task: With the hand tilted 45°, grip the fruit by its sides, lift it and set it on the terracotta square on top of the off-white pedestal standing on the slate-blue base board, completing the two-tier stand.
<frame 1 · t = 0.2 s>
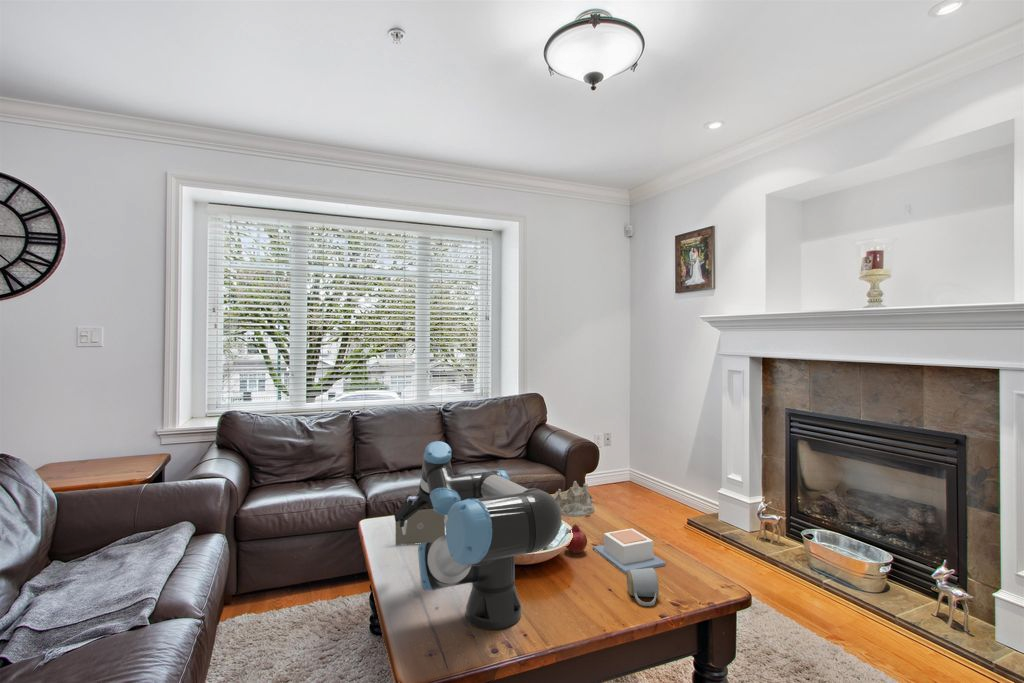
hand: (425, 527, 160), 15 cm above the table, tool tilted 35°, fingers open, 13 cm apart
pedestal board: (627, 557, 173), on the table
laptop: (421, 538, 190), on the table
ceramic mug: (644, 598, 146), on the table
miniature stone castle: (573, 511, 219), on the table
fruit: (575, 553, 176), on the table
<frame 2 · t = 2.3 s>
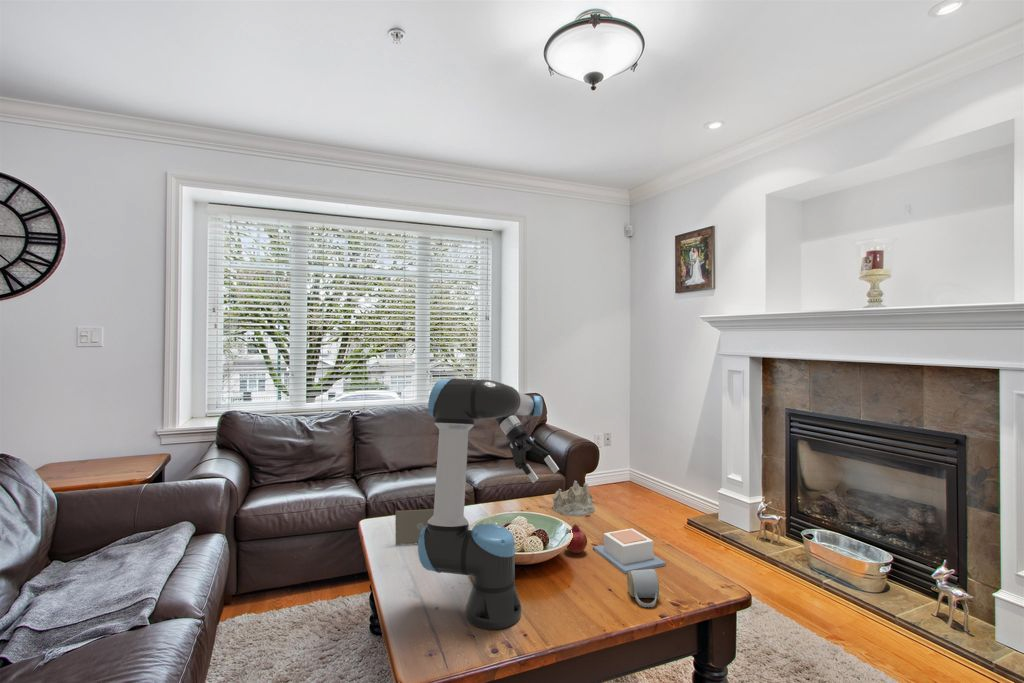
hand: (546, 476, 182), 25 cm above the table, tool tilted 45°, fingers open, 13 cm apart
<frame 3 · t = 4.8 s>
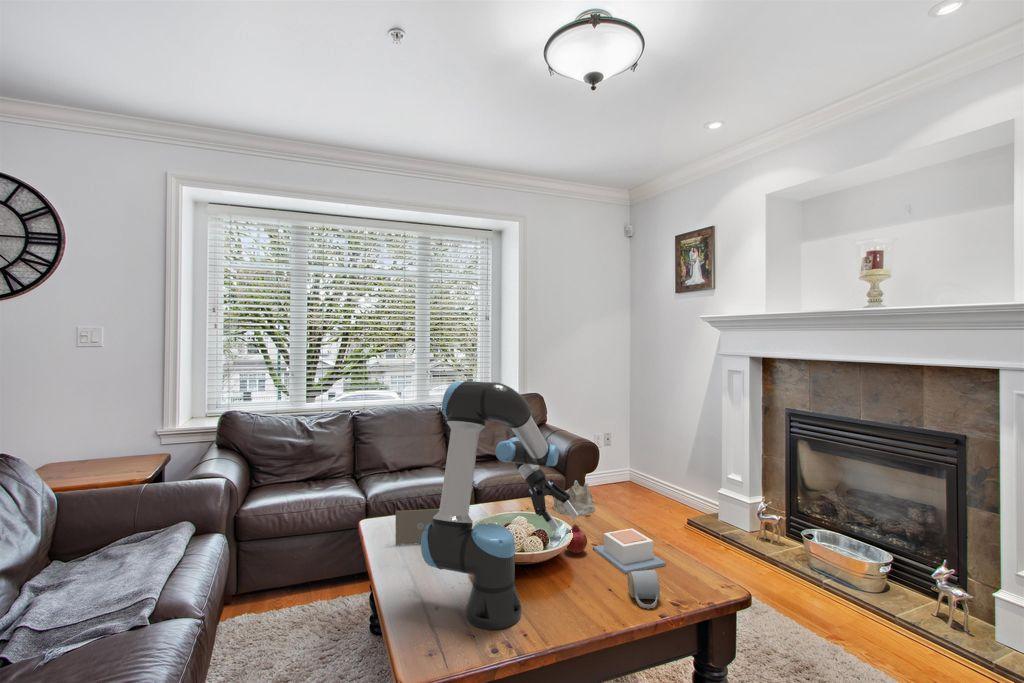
hand: (566, 522, 180), 9 cm above the table, tool tilted 45°, fingers open, 13 cm apart
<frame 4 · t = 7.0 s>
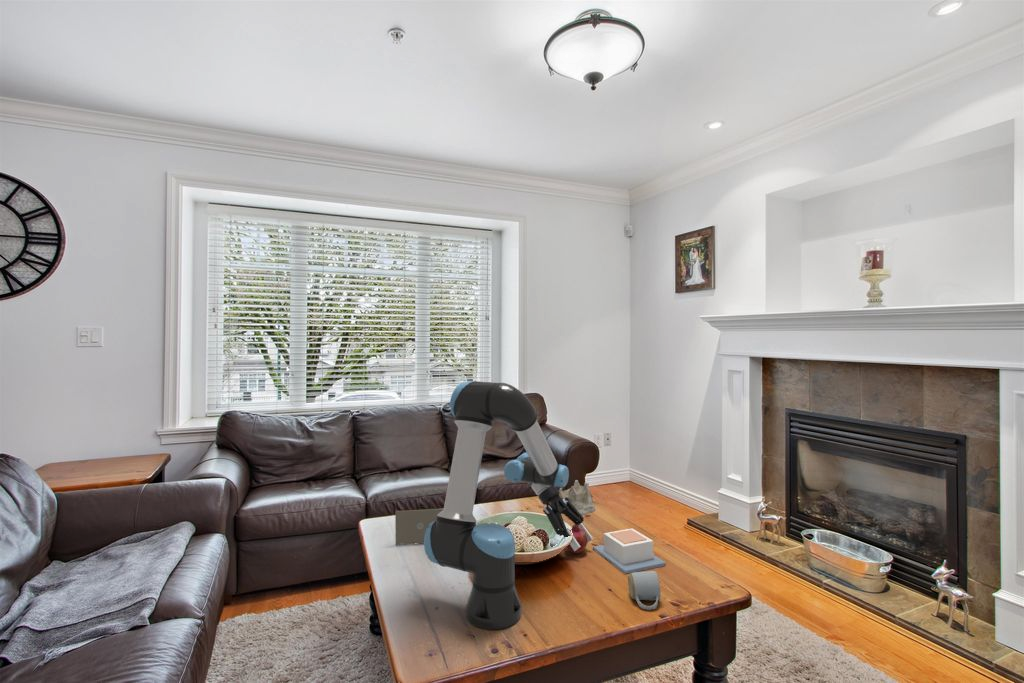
hand: (583, 544, 174), 4 cm above the table, tool tilted 45°, fingers closed on fruit, 8 cm apart
fruit: (575, 553, 176), on the table, touching gripper
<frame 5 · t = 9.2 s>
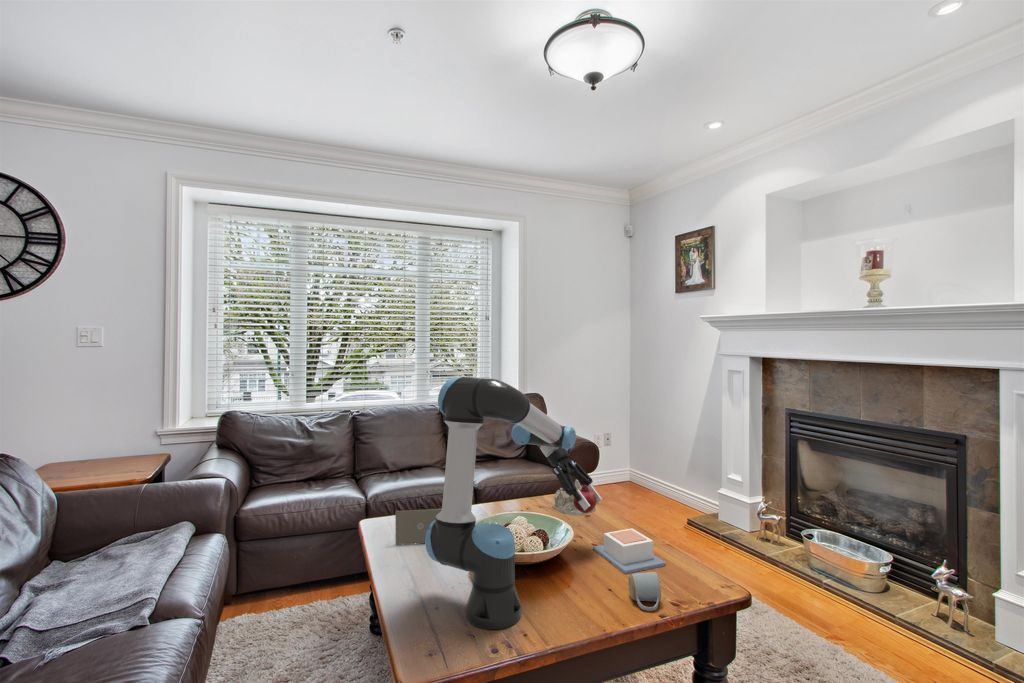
hand: (593, 504, 175), 18 cm above the table, tool tilted 45°, fingers closed on fruit, 8 cm apart
fruit: (584, 513, 177), point 14 cm above the table, touching gripper
when the fingers open (13 cm above the table, at t = 11.6 s): fruit drops 2 cm, resting on pedestal board.
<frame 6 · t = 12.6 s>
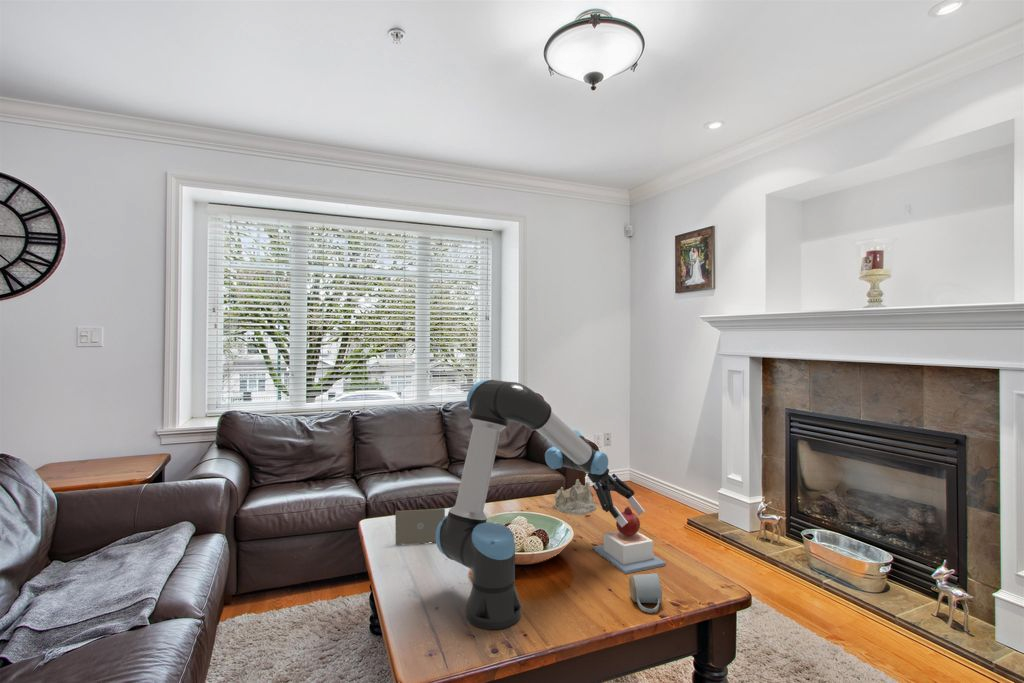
hand: (633, 519, 171), 14 cm above the table, tool tilted 45°, fingers open, 13 cm apart
fruit: (627, 536, 173), point 7 cm above the table, touching pedestal board
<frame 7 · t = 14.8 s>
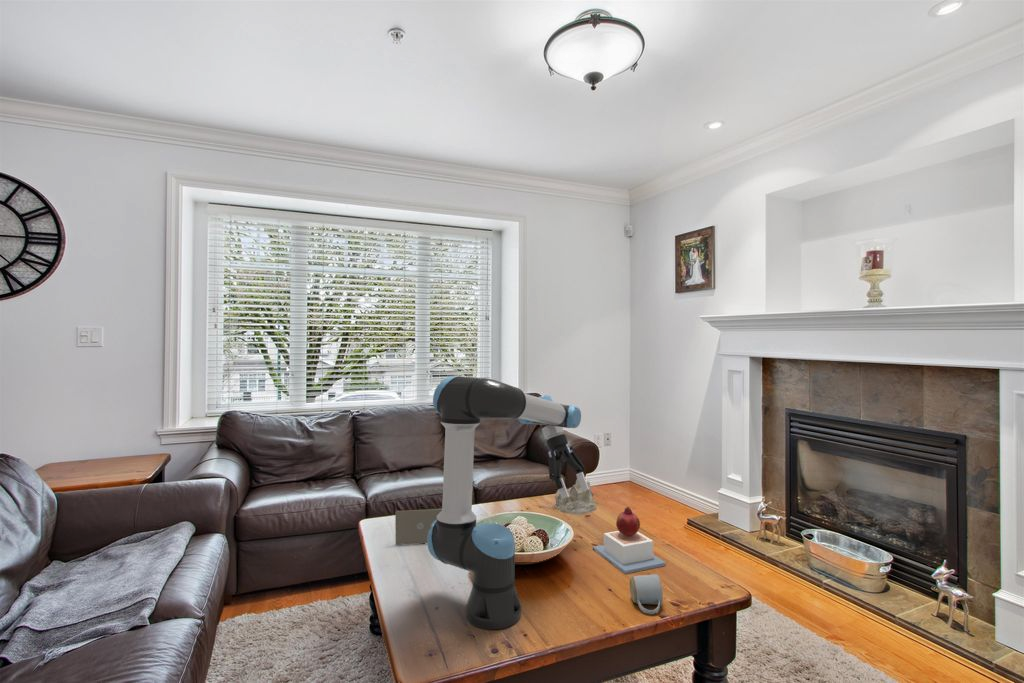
hand: (575, 494, 177), 21 cm above the table, tool tilted 25°, fingers open, 13 cm apart
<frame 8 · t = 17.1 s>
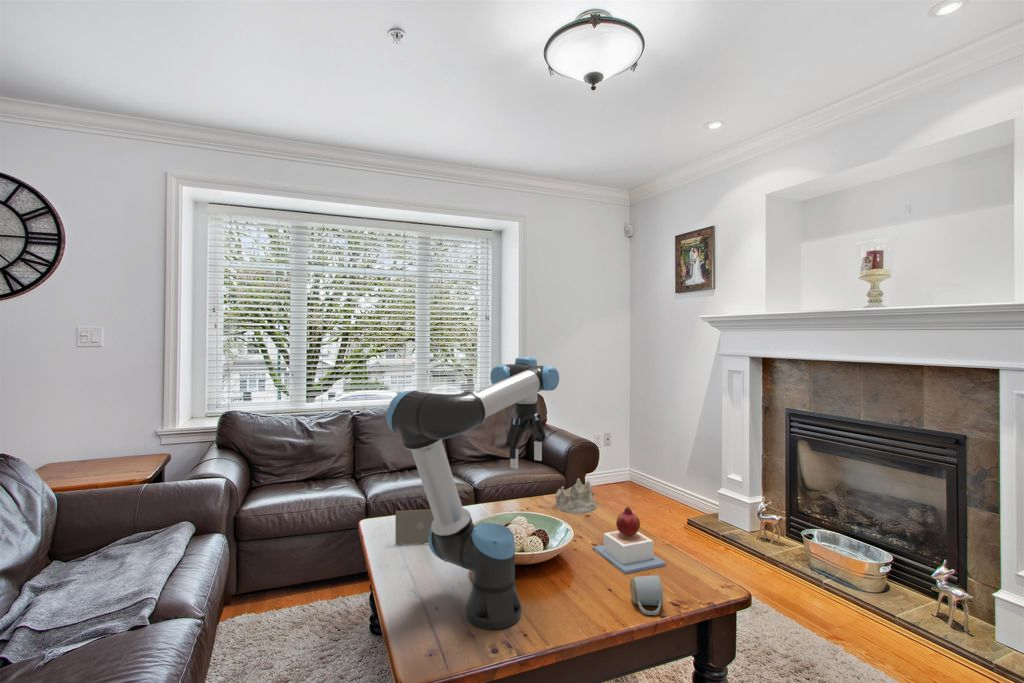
hand: (526, 464, 171), 33 cm above the table, tool pointing down, fingers open, 13 cm apart
at the end: fruit inside the target area on the pedestal board (0.1 cm from its centre), point 7.1 cm above the pedestal board's base; the gripper is holding nothing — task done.
